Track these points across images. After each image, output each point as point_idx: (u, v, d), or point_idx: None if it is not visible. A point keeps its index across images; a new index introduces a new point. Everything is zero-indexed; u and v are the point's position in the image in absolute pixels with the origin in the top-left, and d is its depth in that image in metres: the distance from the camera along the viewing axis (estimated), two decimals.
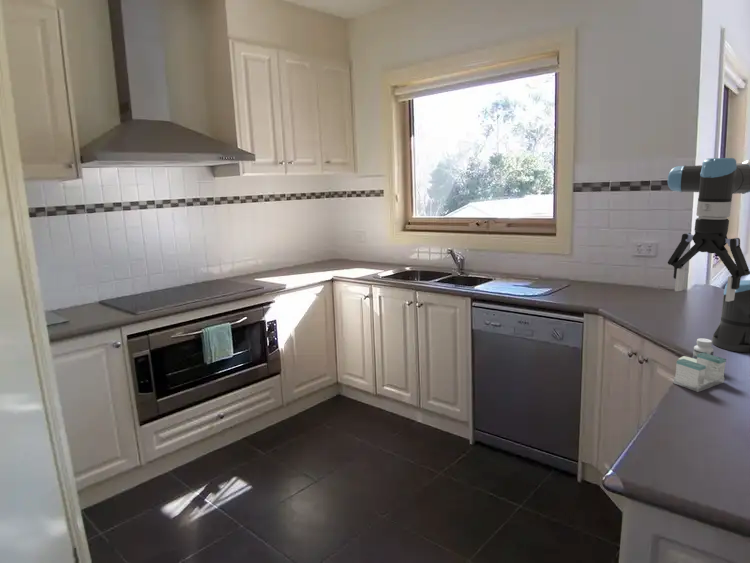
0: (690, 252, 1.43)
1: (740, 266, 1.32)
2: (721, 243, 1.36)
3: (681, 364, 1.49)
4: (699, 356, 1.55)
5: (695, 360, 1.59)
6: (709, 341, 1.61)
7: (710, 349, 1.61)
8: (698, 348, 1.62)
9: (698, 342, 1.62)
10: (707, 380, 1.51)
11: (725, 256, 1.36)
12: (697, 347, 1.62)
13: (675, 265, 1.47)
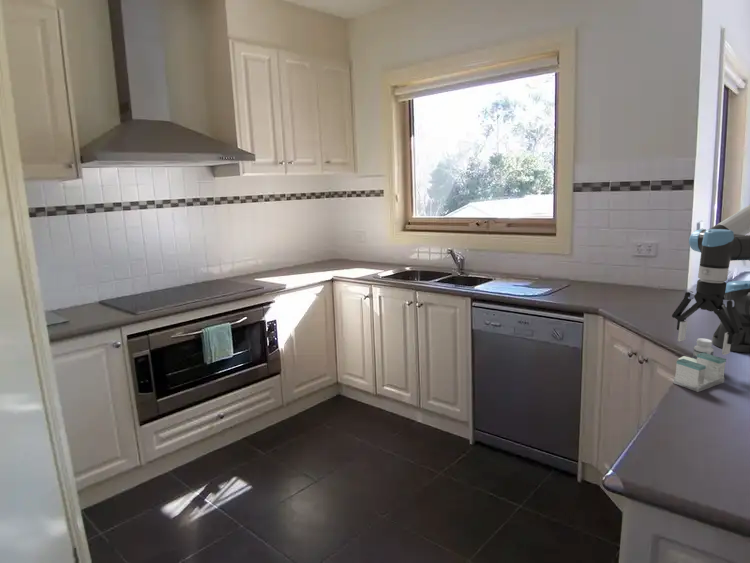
0: (692, 308, 1.63)
1: (735, 325, 1.52)
2: (719, 303, 1.56)
3: (681, 364, 1.49)
4: (699, 356, 1.55)
5: (695, 360, 1.59)
6: (709, 341, 1.61)
7: (710, 349, 1.61)
8: (698, 348, 1.62)
9: (698, 342, 1.62)
10: (707, 380, 1.51)
11: (722, 315, 1.56)
12: (697, 347, 1.62)
13: (678, 318, 1.67)
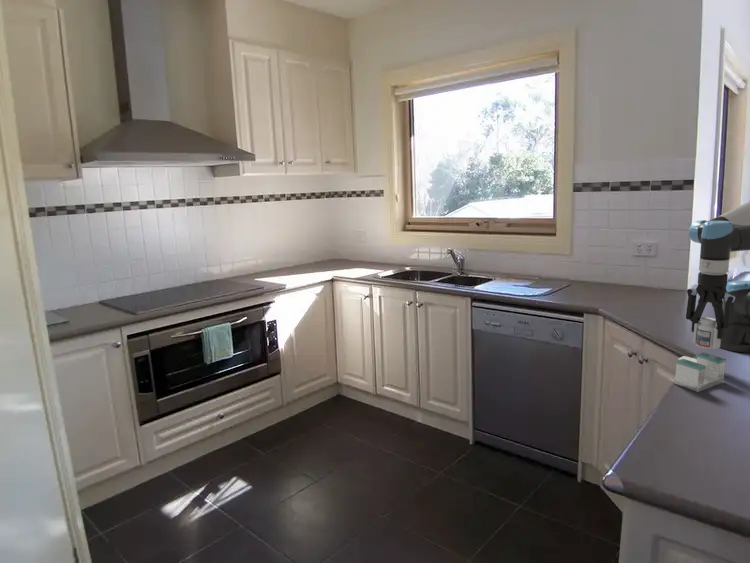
0: (699, 305, 1.61)
1: (727, 320, 1.55)
2: (720, 296, 1.56)
3: (681, 364, 1.49)
4: (699, 356, 1.55)
5: (695, 360, 1.59)
6: (713, 320, 1.60)
7: None
8: (702, 327, 1.61)
9: (702, 321, 1.61)
10: (707, 380, 1.51)
11: (719, 309, 1.57)
12: (701, 326, 1.61)
13: (692, 320, 1.64)
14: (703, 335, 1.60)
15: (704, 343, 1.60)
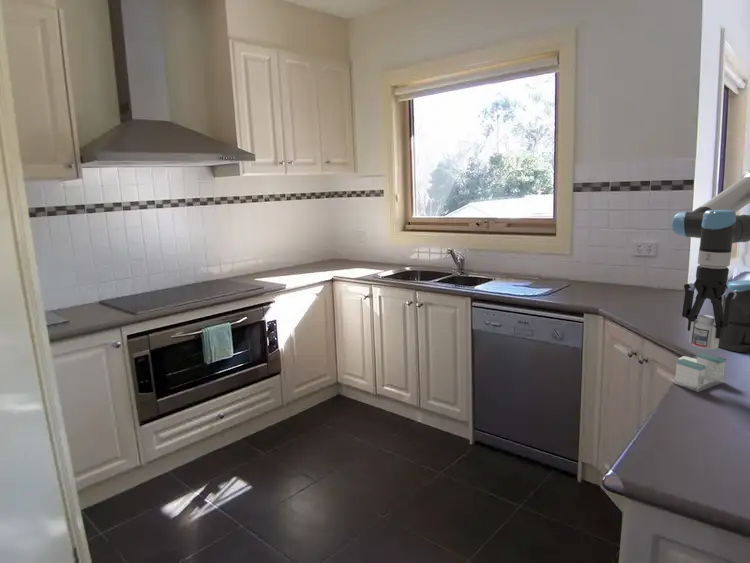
0: (697, 301, 1.49)
1: (726, 318, 1.42)
2: (720, 291, 1.43)
3: (681, 364, 1.49)
4: (699, 356, 1.55)
5: (695, 360, 1.59)
6: (711, 317, 1.47)
7: (712, 326, 1.46)
8: (699, 325, 1.48)
9: (699, 319, 1.48)
10: (707, 380, 1.51)
11: (718, 306, 1.44)
12: (698, 324, 1.48)
13: (689, 318, 1.51)
14: (700, 334, 1.47)
15: (701, 343, 1.47)
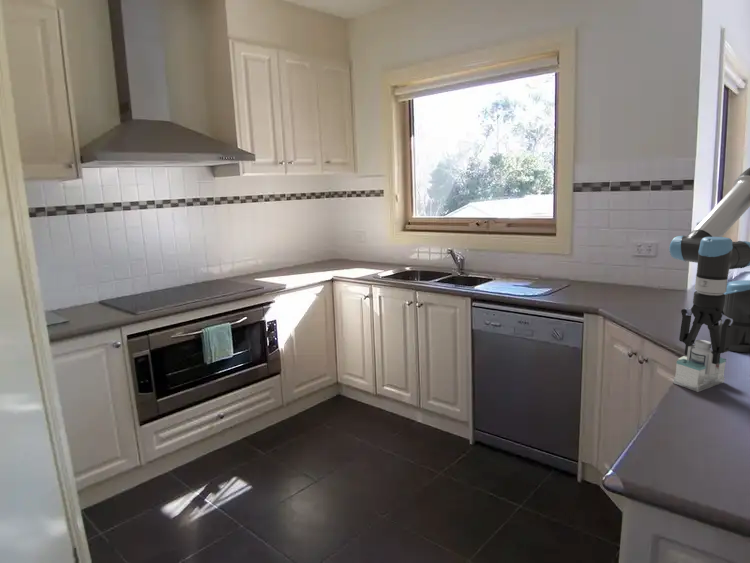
0: (694, 326, 1.50)
1: (723, 344, 1.44)
2: (716, 318, 1.45)
3: (681, 364, 1.49)
4: None
5: None
6: (708, 343, 1.48)
7: None
8: (696, 350, 1.49)
9: (696, 344, 1.49)
10: (707, 380, 1.51)
11: (714, 332, 1.46)
12: (695, 349, 1.50)
13: (686, 343, 1.53)
14: (696, 359, 1.49)
15: None
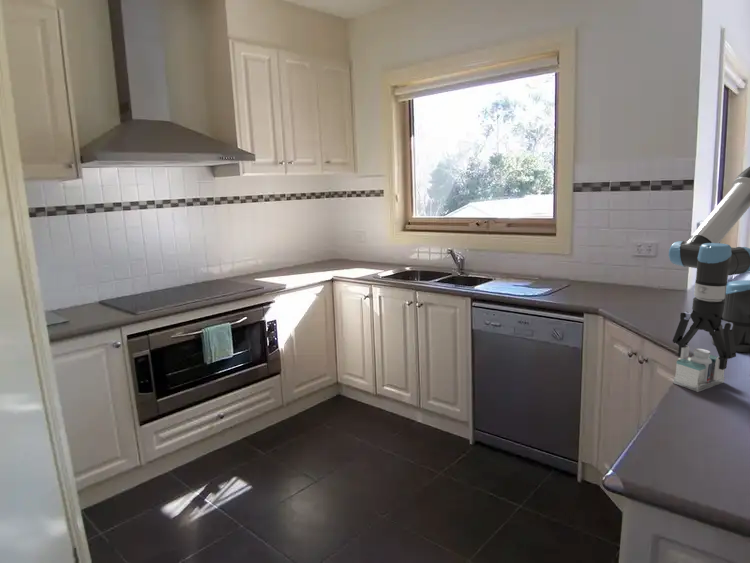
0: (691, 331, 1.51)
1: (728, 349, 1.43)
2: (716, 324, 1.45)
3: (681, 364, 1.49)
4: None
5: None
6: (707, 352, 1.49)
7: (708, 360, 1.49)
8: (695, 359, 1.50)
9: (695, 353, 1.50)
10: None
11: (717, 337, 1.45)
12: (694, 358, 1.50)
13: (680, 344, 1.55)
14: None
15: None
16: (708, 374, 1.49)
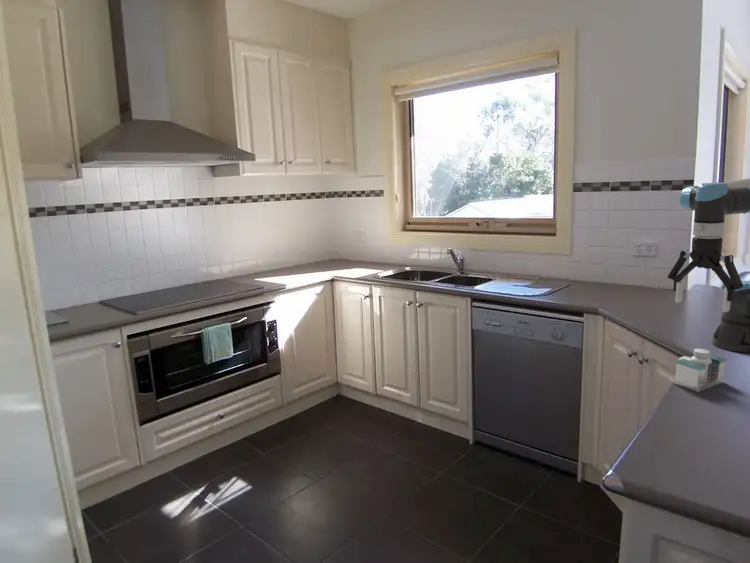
0: (688, 267, 1.57)
1: (734, 280, 1.47)
2: (716, 260, 1.50)
3: (681, 364, 1.49)
4: None
5: None
6: (707, 352, 1.49)
7: (708, 360, 1.49)
8: (695, 359, 1.50)
9: (695, 353, 1.50)
10: None
11: (720, 271, 1.50)
12: (694, 358, 1.50)
13: (675, 279, 1.61)
14: None
15: None
16: (708, 374, 1.49)
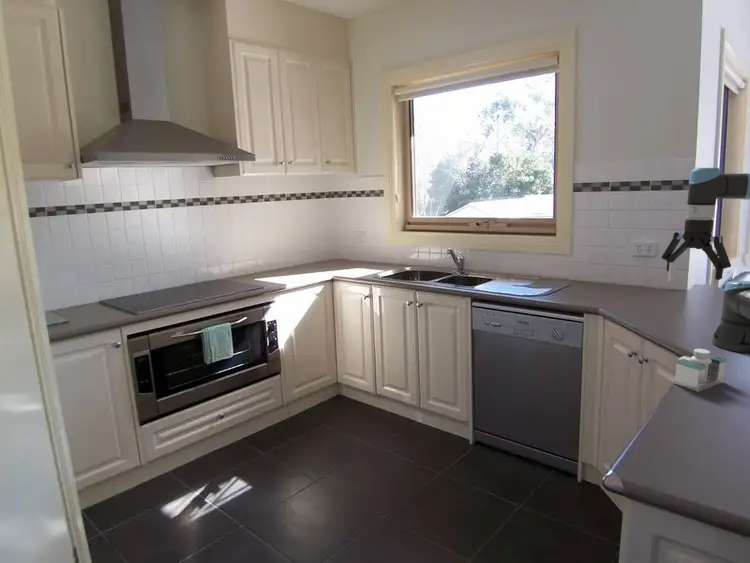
0: (680, 248, 1.66)
1: (722, 260, 1.56)
2: (707, 240, 1.59)
3: (681, 364, 1.49)
4: None
5: None
6: (707, 352, 1.49)
7: (708, 360, 1.49)
8: (695, 359, 1.50)
9: (695, 353, 1.50)
10: None
11: (710, 251, 1.59)
12: (694, 358, 1.50)
13: (668, 259, 1.70)
14: None
15: None
16: (708, 374, 1.49)
